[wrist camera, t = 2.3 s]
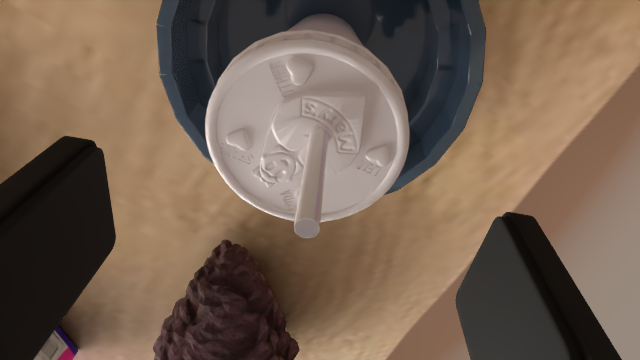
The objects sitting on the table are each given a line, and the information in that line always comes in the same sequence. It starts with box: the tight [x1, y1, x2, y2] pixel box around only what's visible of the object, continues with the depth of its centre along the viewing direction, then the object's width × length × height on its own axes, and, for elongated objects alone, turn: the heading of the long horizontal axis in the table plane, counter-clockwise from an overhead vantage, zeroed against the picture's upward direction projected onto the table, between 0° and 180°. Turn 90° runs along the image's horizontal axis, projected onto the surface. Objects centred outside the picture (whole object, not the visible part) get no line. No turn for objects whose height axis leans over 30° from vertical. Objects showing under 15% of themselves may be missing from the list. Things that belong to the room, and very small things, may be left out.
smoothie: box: [205, 13, 409, 238], centre depth 15 cm, size 6×6×14 cm
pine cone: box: [153, 240, 299, 360], centre depth 29 cm, size 18×10×10 cm
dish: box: [157, 0, 486, 195], centre depth 19 cm, size 14×14×4 cm
